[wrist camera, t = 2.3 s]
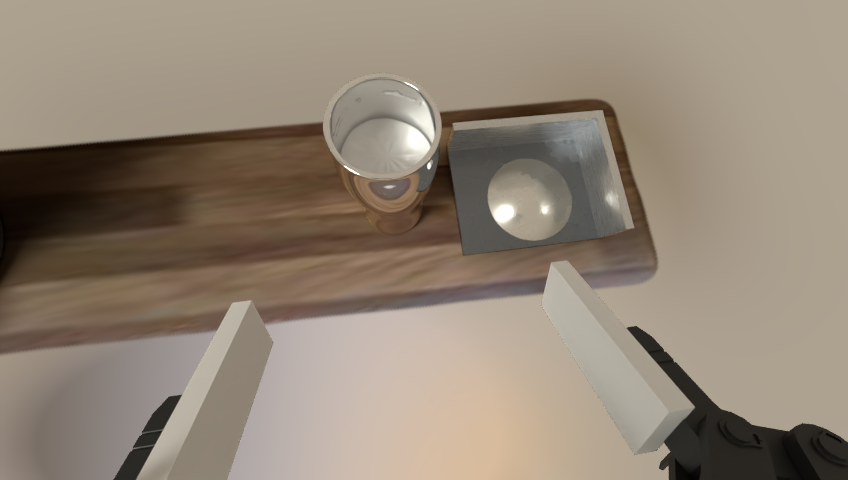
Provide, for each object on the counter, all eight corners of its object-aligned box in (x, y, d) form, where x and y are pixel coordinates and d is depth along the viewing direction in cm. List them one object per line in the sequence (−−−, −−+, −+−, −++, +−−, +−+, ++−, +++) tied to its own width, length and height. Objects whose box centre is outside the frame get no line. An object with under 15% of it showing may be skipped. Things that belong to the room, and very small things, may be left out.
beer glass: (401, 252, 30) (398, 208, 16) (346, 214, 31) (291, 136, 16) (439, 198, 32) (469, 111, 17) (385, 162, 32) (368, 47, 17)
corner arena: (463, 255, 31) (473, 247, 26) (445, 148, 33) (452, 123, 28) (600, 238, 32) (634, 228, 27) (575, 136, 34) (602, 110, 29)
